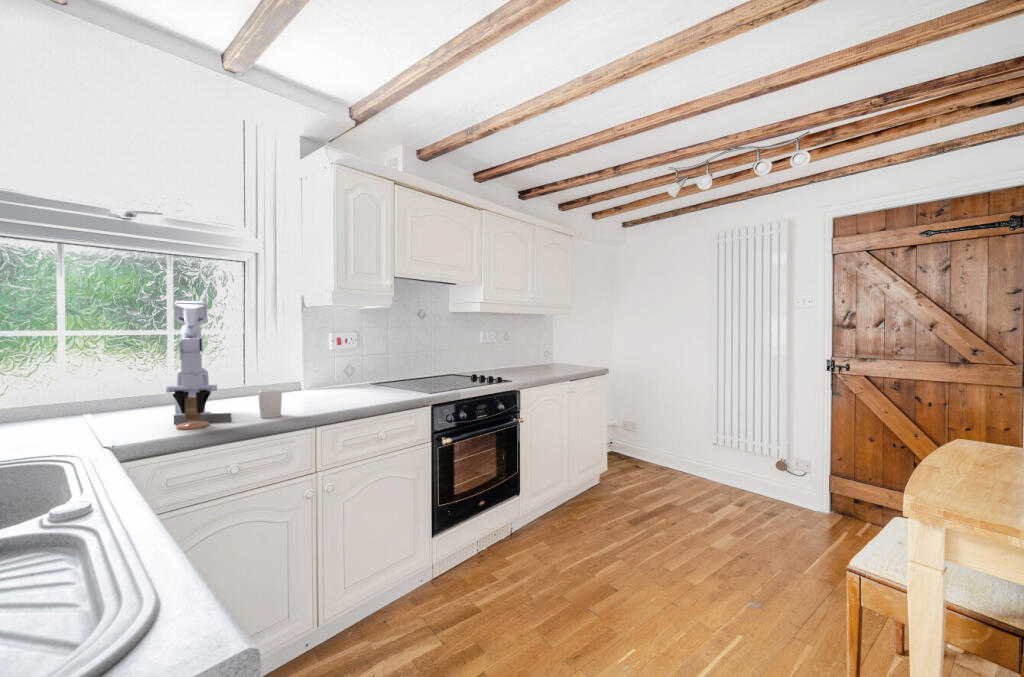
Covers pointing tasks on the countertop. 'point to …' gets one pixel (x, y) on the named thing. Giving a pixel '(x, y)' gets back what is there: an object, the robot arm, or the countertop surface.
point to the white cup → (270, 403)
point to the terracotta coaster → (192, 425)
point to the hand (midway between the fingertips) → (192, 412)
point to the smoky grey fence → (205, 418)
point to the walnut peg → (191, 408)
